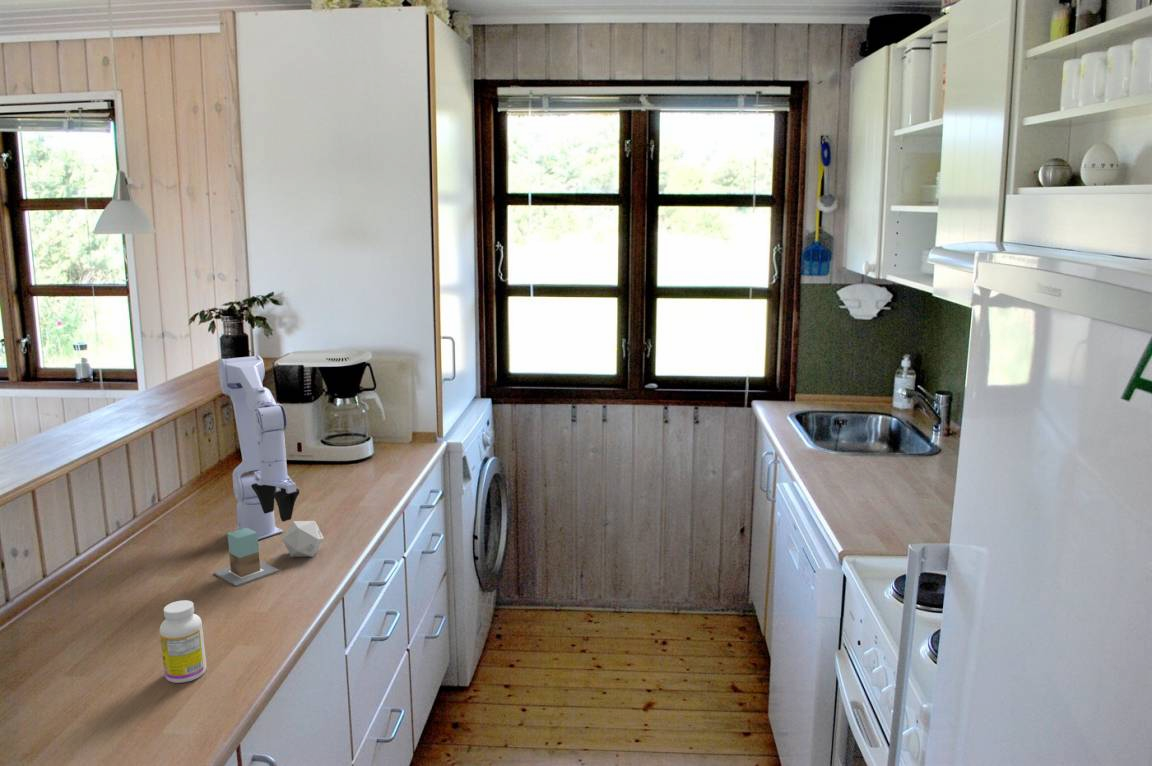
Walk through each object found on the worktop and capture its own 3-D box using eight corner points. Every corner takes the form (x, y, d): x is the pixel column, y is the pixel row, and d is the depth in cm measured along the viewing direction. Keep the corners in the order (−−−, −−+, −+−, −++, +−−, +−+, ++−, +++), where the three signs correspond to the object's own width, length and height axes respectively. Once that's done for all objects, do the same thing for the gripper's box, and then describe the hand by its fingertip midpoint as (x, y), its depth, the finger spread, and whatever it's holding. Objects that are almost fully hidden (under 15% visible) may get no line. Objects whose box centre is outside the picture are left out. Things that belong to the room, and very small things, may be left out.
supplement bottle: (173, 664, 151) (166, 598, 149) (212, 663, 152) (205, 596, 149) (158, 685, 145) (150, 616, 142) (199, 683, 145) (191, 614, 143)
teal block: (229, 552, 188) (227, 533, 187) (248, 546, 191) (246, 527, 190) (239, 558, 185) (237, 538, 184) (258, 551, 188) (257, 532, 187)
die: (301, 567, 193) (325, 530, 194) (270, 547, 194) (294, 511, 195) (312, 565, 201) (335, 530, 202) (282, 546, 202) (304, 511, 203)
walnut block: (230, 571, 189) (229, 552, 188) (249, 565, 192) (248, 546, 191) (241, 577, 186) (239, 557, 185) (260, 570, 189) (258, 551, 188)
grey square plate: (213, 573, 188) (213, 571, 188) (255, 559, 196) (255, 557, 196) (236, 586, 182) (236, 584, 182) (279, 571, 189) (278, 569, 189)
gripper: (239, 456, 193) (244, 513, 196) (273, 469, 184) (278, 528, 186) (268, 449, 198) (272, 505, 201) (302, 461, 189) (306, 519, 192)
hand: (277, 516), depth 194 cm, fingers open, 7 cm apart
